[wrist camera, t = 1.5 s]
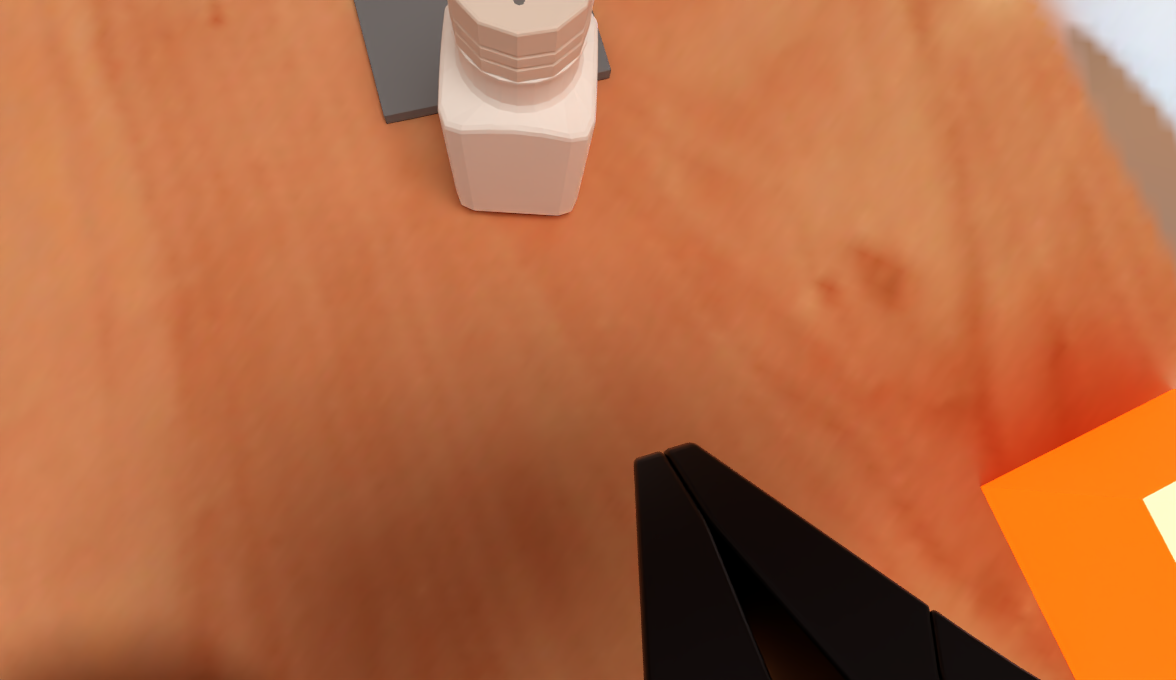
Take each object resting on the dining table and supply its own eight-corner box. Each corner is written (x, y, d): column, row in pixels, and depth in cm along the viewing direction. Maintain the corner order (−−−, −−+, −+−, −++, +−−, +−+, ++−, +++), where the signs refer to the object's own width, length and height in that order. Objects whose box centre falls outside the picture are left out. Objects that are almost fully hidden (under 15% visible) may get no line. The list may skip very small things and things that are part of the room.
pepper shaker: (464, 106, 23) (427, -133, 13) (578, 115, 23) (619, -112, 14) (457, 215, 22) (413, 43, 13) (574, 222, 22) (615, 61, 13)
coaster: (609, 77, 23) (610, 70, 23) (387, 123, 22) (384, 116, 22) (556, -91, 24) (557, -102, 24) (340, -56, 23) (336, -66, 23)
